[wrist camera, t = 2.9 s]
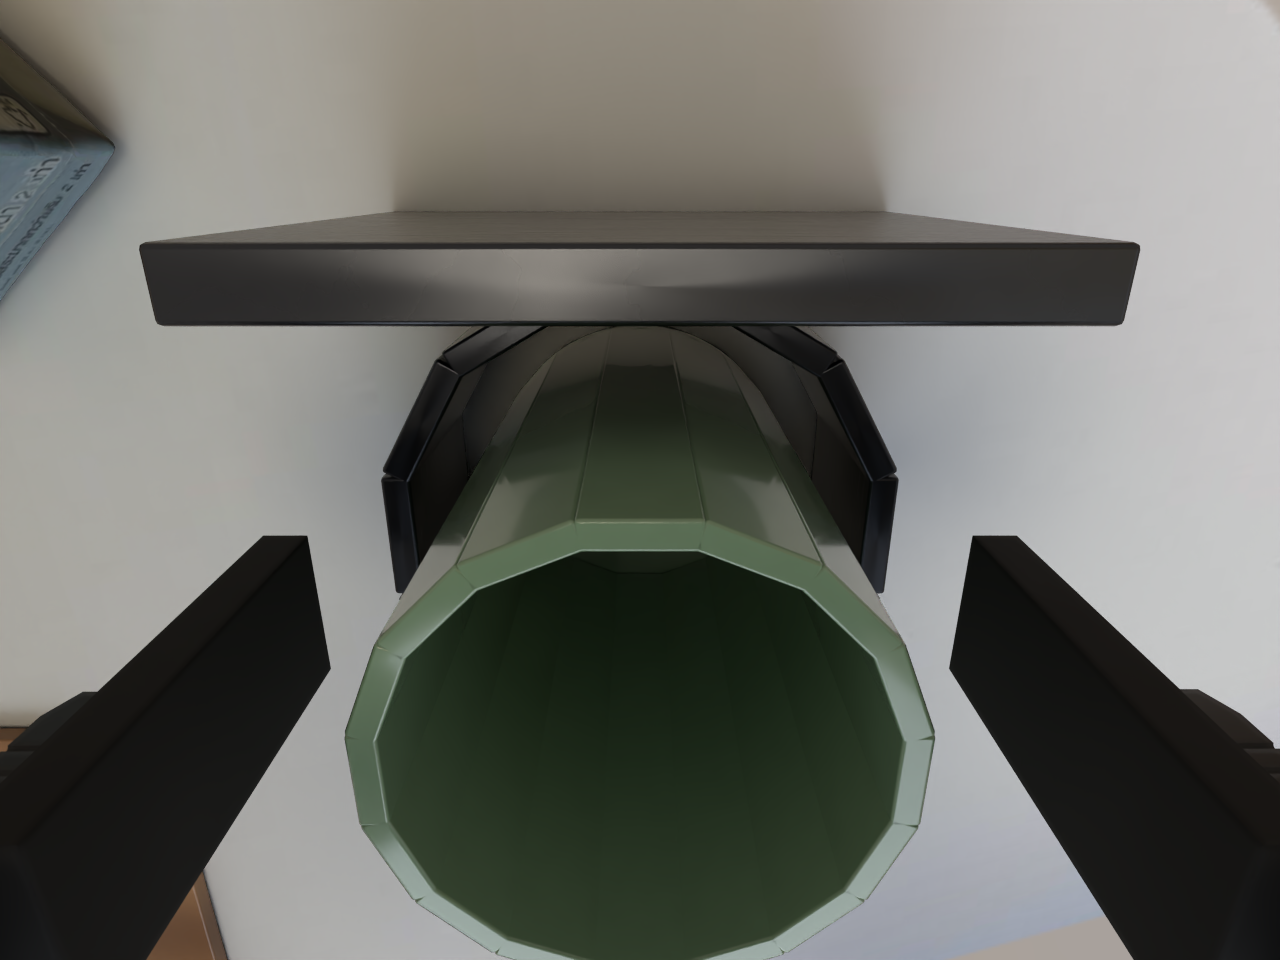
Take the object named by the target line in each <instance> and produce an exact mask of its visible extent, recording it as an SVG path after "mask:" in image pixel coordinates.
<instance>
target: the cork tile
mask: <svg viewBox="0 0 1280 960" xmlns="http://www.w3.org/2000/svg"><path fill="white" fill-rule="evenodd" d="M26 729H27V728H0V752H1V751H7V749H8V745H9V744H10V743H11V742H12V741H13V740H14V739H16V738H17V737H18V736H19V735H20V734H21V733H22V732H23V731H25V730H26ZM146 960H227V957H226V954H225V950H224V946H223V943H222V939H221V936H220V932H219V929H218V925H217V922H216V918H215V915H214V911H213V908H212V904H211V900H210V897H209V893H208V890H207V886H206V883H205V879H204V876H203V872H202V873H201V874H200V876H199V877H198V879H197V881H196V882H195V884H194V885H193V887H192V888H191V890H190V892H189V893H188V895H187V896H186V898H185V899H184V901H183V903H182V904H181V906H180V907H179V909H178V910H177V912H176V914H175V915H174V917H173V918H172V920H171V922H170V923H169V925H168V926H167V928H166V929H165V931H164V933H163V934H162V936H161V937H160V939H159V940H158V942H157V944H156V945H155V947H154V948H153V950H152V951H151V953H150V955H149V956H148V958H147V959H146Z"/></svg>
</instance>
